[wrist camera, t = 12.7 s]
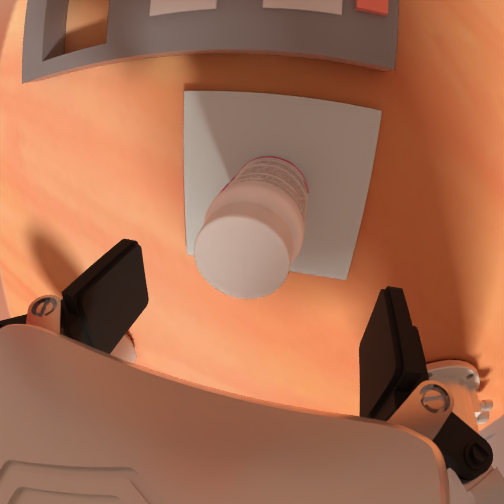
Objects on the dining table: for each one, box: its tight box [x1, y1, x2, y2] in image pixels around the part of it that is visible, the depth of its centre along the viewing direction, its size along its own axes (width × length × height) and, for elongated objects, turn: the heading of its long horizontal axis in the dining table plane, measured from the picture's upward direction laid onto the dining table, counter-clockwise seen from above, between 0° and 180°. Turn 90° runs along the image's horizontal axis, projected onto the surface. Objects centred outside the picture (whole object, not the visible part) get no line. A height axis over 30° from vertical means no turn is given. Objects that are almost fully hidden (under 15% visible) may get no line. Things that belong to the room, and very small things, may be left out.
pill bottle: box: [194, 156, 309, 299], centre depth 16 cm, size 5×5×8 cm
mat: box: [184, 91, 382, 280], centre depth 19 cm, size 12×12×1 cm
